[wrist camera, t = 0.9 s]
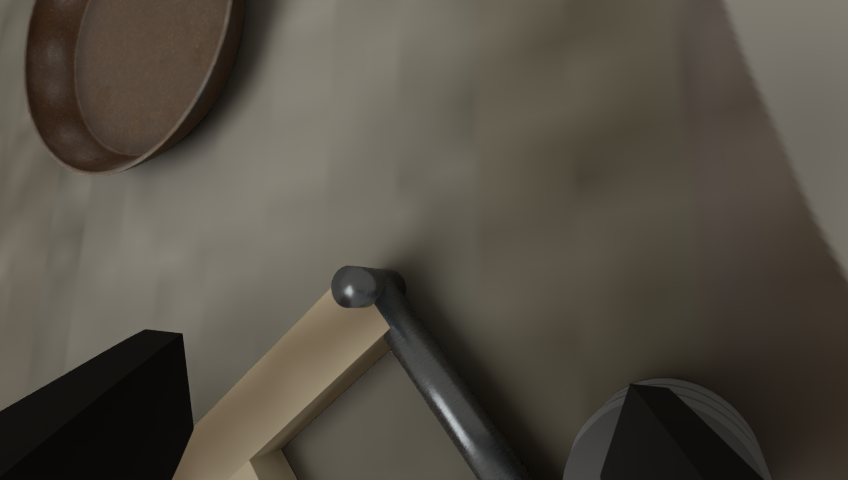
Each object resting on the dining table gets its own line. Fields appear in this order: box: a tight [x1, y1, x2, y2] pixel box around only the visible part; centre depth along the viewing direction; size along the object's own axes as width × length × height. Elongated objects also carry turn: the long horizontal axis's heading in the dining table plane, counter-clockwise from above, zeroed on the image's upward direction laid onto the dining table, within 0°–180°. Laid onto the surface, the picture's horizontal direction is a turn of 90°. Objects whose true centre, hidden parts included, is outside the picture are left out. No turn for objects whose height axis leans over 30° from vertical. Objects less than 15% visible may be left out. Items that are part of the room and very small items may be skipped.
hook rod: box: [331, 266, 534, 480], centre depth 20 cm, size 14×2×3 cm, turn 39°
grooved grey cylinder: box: [563, 378, 772, 480], centre depth 15 cm, size 5×5×6 cm
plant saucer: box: [24, 0, 245, 176], centre depth 31 cm, size 18×18×3 cm
